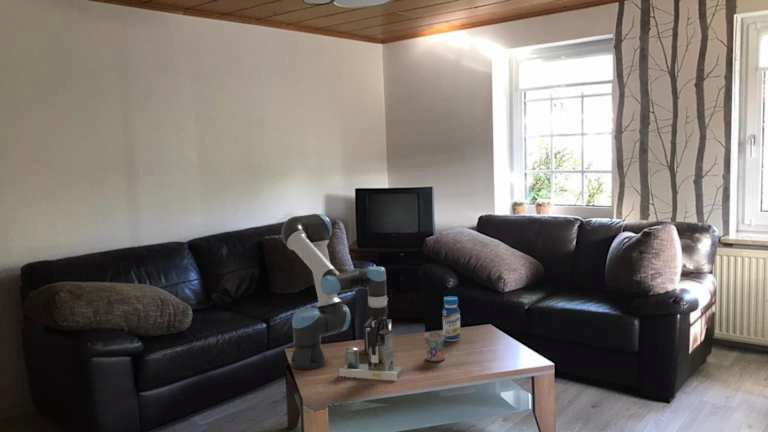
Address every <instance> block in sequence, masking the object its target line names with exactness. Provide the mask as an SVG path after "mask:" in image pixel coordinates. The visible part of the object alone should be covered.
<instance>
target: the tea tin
mask: <svg viewBox="0 0 768 432" xmlns="http://www.w3.org/2000/svg"><path fill="white" fill-rule="evenodd" d="M359 351H360V350H359V347H357V346H348V347H346V348H345V353H346V357H345V358H346V365H347V369H358V368H359V364H360V359H359V354H360V353H359Z"/></svg>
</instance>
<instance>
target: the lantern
mask: <svg viewBox="0 0 768 432" xmlns="http://www.w3.org/2000/svg"><path fill="white" fill-rule="evenodd" d="M386 305H387V306H388V303H387V304H386ZM366 312H367V313H369V305H368V304H367V311H366ZM386 316H387V317H388V314H387V315H386ZM370 321H373V317H372V316H370V317H369V318H367V321H366V322H365V324H364V325H363V341H364V356H368V344H367V331H368V330H370ZM387 322H388V326H389V330H392V331H393V324H392V323H393V321H392V319H391V318H390V319H388V318H387Z"/></svg>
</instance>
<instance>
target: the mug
mask: <svg viewBox="0 0 768 432" xmlns="http://www.w3.org/2000/svg"><path fill="white" fill-rule="evenodd" d="M423 338H424V340H425V344H426V354H425V357H424V358H425V360H427V361H429V362H441V361H443V360H445V359H446V356H445V354H444V350H443V349H444V347H443V346H444V341H445V340H444V338H445V334H443V332H439V331H438V332H437V331H436V332H435V331H433V332H427V333H424V334H423Z"/></svg>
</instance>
